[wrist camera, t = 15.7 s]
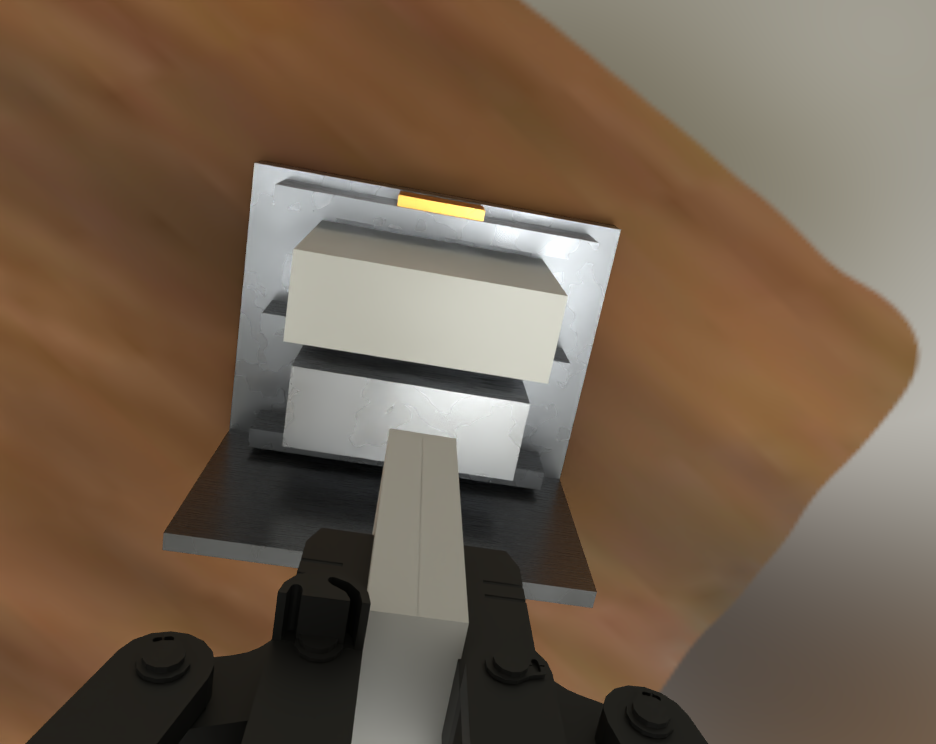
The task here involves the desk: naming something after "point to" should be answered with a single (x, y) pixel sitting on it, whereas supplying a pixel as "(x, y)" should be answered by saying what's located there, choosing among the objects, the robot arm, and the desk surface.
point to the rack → (395, 394)
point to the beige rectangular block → (424, 302)
